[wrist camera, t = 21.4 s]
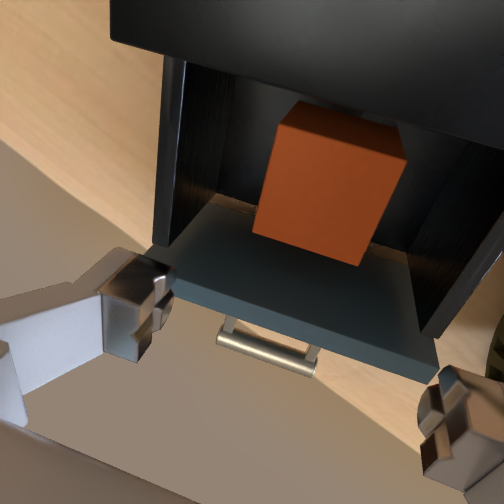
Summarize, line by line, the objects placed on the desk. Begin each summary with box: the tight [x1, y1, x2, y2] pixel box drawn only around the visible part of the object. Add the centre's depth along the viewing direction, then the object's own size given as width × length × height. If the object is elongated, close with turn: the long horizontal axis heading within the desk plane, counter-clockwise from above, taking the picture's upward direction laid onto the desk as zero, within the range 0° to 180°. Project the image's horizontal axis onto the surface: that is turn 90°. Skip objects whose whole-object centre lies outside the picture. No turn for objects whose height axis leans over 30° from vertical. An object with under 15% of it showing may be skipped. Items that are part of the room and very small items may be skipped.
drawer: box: [144, 55, 504, 385], centre depth 18 cm, size 18×14×8 cm
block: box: [252, 101, 407, 266], centre depth 17 cm, size 5×5×5 cm
